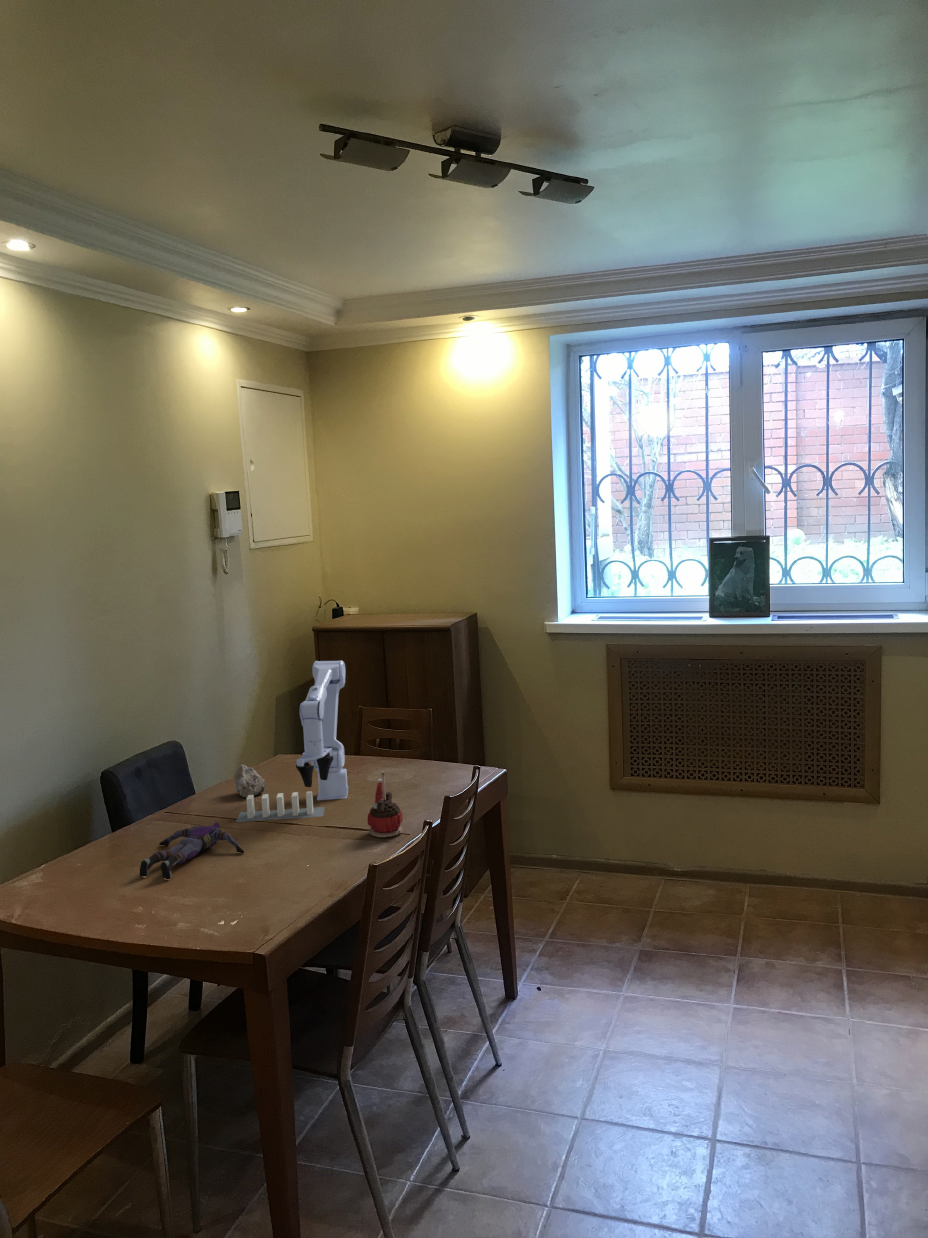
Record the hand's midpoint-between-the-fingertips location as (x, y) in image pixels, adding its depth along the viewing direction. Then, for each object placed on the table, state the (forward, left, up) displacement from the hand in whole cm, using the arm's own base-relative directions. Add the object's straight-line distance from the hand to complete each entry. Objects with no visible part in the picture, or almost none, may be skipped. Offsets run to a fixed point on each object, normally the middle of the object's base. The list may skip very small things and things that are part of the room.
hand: (316, 783), depth 293 cm
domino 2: (+16, 0, -9) cm, 18 cm away
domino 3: (+11, 0, -9) cm, 14 cm away
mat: (+11, 0, -9) cm, 15 cm away
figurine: (+33, +32, -10) cm, 46 cm away
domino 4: (+7, 0, -9) cm, 11 cm away
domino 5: (+2, 0, -9) cm, 9 cm away
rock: (+24, -22, -10) cm, 34 cm away
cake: (-21, +22, -10) cm, 32 cm away
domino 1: (+20, 0, -9) cm, 22 cm away
